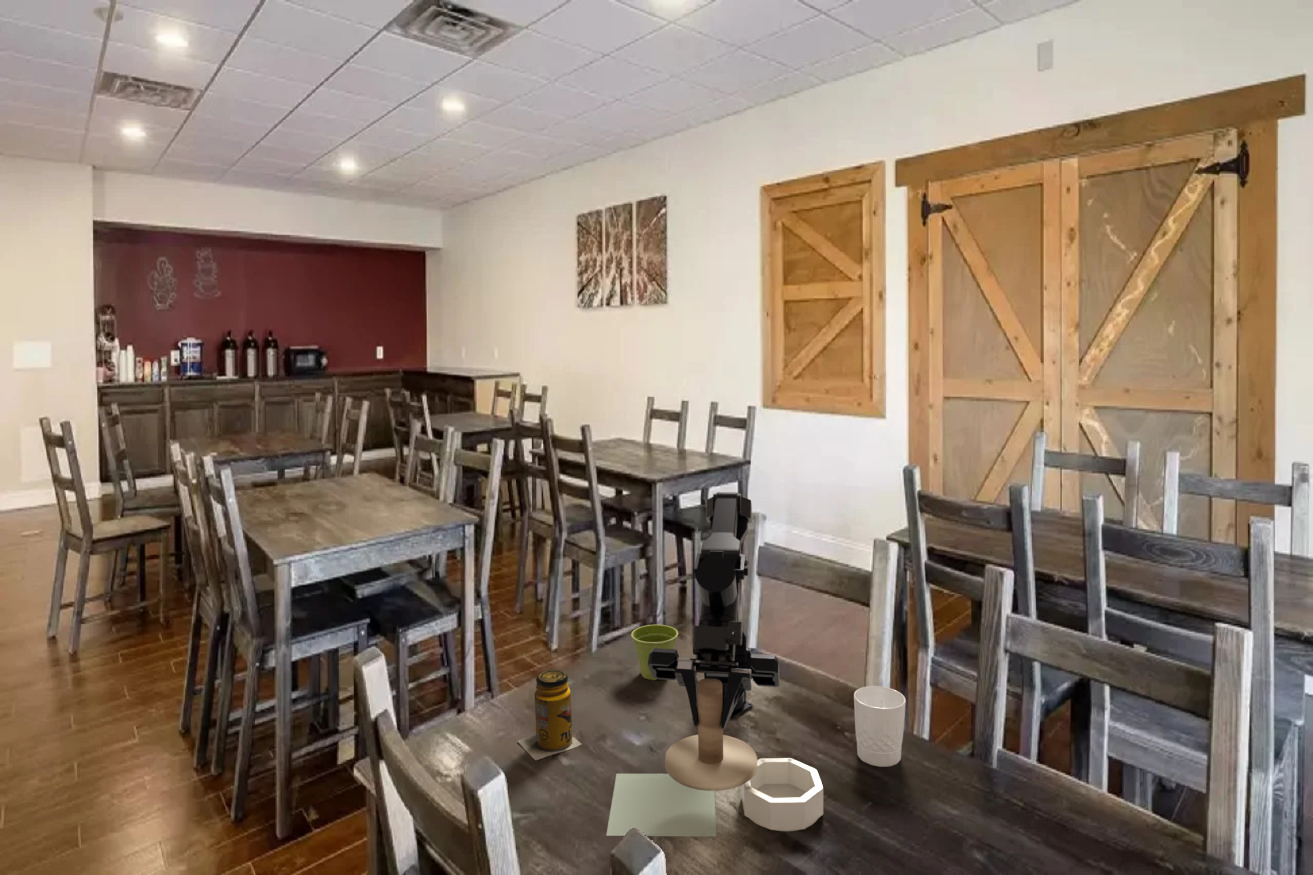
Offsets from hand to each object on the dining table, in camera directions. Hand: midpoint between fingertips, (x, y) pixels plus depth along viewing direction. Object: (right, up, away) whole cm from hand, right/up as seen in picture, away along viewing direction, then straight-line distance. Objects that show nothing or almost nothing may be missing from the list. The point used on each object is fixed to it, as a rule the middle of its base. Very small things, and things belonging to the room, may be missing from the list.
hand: (709, 727), depth 107 cm
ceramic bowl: (+11, -13, +3) cm, 17 cm away
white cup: (+28, -11, +16) cm, 35 cm away
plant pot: (-7, -8, +48) cm, 50 cm away
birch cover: (0, -6, +2) cm, 6 cm away
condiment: (-25, -12, +23) cm, 36 cm away
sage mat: (-6, -13, +5) cm, 15 cm away
